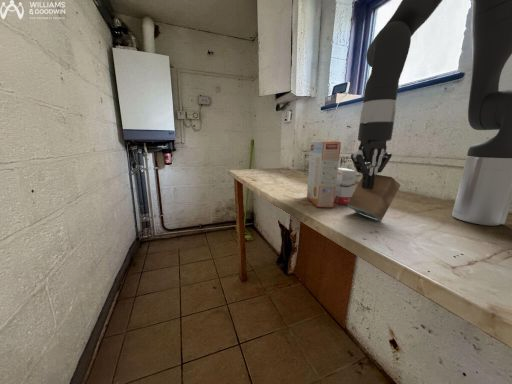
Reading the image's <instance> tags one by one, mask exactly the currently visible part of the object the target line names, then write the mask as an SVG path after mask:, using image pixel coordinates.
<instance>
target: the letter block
mask: <svg viewBox="0 0 512 384" xmlns="http://www.w3.org/2000/svg"><path fill="white" fill-rule="evenodd" d="M362 179H363V175H362V177H361V179H360V181H359V182H358V184H357V185H356V187H355V188H354V193H353V195H352V197H351V199H350V201H349V202H348V204H347V205H346V207H347V208H350V209H351V210H353V211H354V212H355V213H357V214H361V215H363V216H366V217H370V218H372V219H374V220H377V221H379V222H382V221H383V219H384V218H385V217H384V216H386V213H387V212H388V209H389V208H390V206H391V204H392V202H393V200H394V198H395V197H396V195H397V194H398V193H397V192H398V191H399V189H400V187H401V184H400V183H399V182H398V181H397V180H396V179H394V178H393V177H392V176H387V175H380V174H377V175H375V179H374V185H373V188H372V189H363V188H362Z"/></svg>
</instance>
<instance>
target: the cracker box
mask: <svg viewBox="0 0 512 384" xmlns="http://www.w3.org/2000/svg"><path fill="white" fill-rule="evenodd" d="M341 144H342V142H341V141H336V140H335V141H329V140H328V141H321V140H320V141H311V142H310V152H309V163H308V165H309V166H308V179H307V189H306V198H307V199H308V200H309V201H310V202H312V204H314V206H315V207H317V208H332V209H333V208H334V206H335V201H334V200H335V191H336V182H337V173H338V168H339V165H340V163H339V162H340V157H341V154H340V153H341Z"/></svg>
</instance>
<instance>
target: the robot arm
mask: <svg viewBox="0 0 512 384" xmlns="http://www.w3.org/2000/svg"><path fill="white" fill-rule="evenodd" d="M442 2H443V0H401V2H400V3H399V5H398V6H397V8H396V10H395V12H394V13H393V15H391V17H390V18H389V20H388V21H387V22H386V23H385V25H384V26H383V28H382V29H380V31H379V32H377V34H376V36H375V38H373V40H372V41H371V43H370V44H369V46H368V47H367V51H366V55H365V57H366V63H367V65H368V66H369V67H370V68H371V72H370V75H369V77H368V78H367V81H366V82H365V83H366V84H365V87H364V94H363V100H362V101H363V103H362V108H361V111H360V116H359V117H360V118H359V126H358V133H357V134H358V135H357V140H358V141H359V142H360V144H359V146H358V150H357V151H356V152H355V153H351V155H350V159H351V161H352V163H353V166H354V167H355V171H356V173H360V174H361V175H362V176H363V179H362V188H363V189H372V188H373V185H374V179H375V175H378V174H379V173H382V172H383V171H384V169H385V167H386V166H387V165H388V163H389V161H390V160H391V158H392V153H389V152H387V148H388V146H387V142H389V141H391V140H392V136H393V132H394V131H393V130H394V126H395V125H394V124H395V120H396V119H395V117H396V112H397V111H396V110H397V98H398V90H399V83H400V80H401V79H400V78H401V75H402V73H403V71H404V67H405V64H406V63H407V62H406V61H407V60H408V59H407V58H408V55H409V51H410V47H411V44H412V43H411V41H412V36H414V34H415V33H416V32H417V30H418V29H419V28H421V26H423V25H424V24H425V22H427V20H428V19H429V18H430V17H431V16H432V15H433V13H434V12H435V11H436V10H437V8H439V6H440V5H441V3H442ZM471 47H472V48H471V49H472V51H471V53H472V56H471V58H472V60H471V63H472V65H471V81H470V87H469V88H470V89H469V90H470V91H469V97H468V106H467V107H468V108H467V121H468V124H469V126H470V127H471V128H472V129H473V130H475V131H492V130H493V131H494V130H495V131H497V130H498V132H497V133H496V135H495V136H493V137H492V138H490V139H488V140H486V141H482V142H478V143H475V144H471V145H470V146H469V147H468V149H467V150H468V151H467V154H466V158H465V161H464V166H463V170H462V174H461V177H460V181H459V186H458V189H457V195H456V198H455V203H454V206H453V210H452V215H451V216H452V217H453V218H455V219H458V220H459V221H464V222H466V223H471V224H476V225H477V224H478V225H483V226H496V227H497V226H500V225H505V223H506V220H507V217H508V214H509V212H510V208H511V205H512V88H511V89H505V90H504V89H503V90H499V87H500V79H501V74H502V71H503V69H504V67H505V65H506V63H507V62H508V60H509V59H510V58H511V56H512V0H471Z"/></svg>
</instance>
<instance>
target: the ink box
mask: <svg viewBox="0 0 512 384" xmlns="http://www.w3.org/2000/svg"><path fill="white" fill-rule="evenodd" d="M356 177H357V170H353V169H350V168H347V167H346V168H343V167H338V173H337V182H336V191H335V200H334V203H336V204H338V205H346V206H347V204H348V202H349V201H350V199H351V197H352V195H353V193H354V191H355V188H356V187H355V186H356V185H355V184H356Z"/></svg>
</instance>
